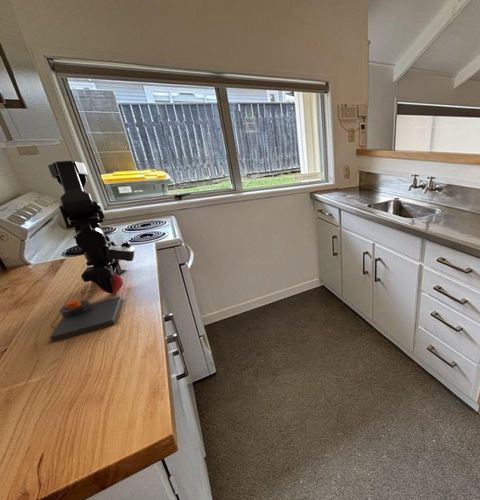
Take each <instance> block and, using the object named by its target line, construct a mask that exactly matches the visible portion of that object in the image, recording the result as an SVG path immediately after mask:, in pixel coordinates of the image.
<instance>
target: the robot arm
mask: <svg viewBox="0 0 480 500" xmlns="http://www.w3.org/2000/svg"><path fill="white" fill-rule="evenodd" d="M47 167H48V170H49V173H50V175H51V177H52V178H53V179H54V180H55V179H56V180H57V182H58V184H59V185H60V186H61V187H62V188H63V191H64V194H63V195H61V196H60V197H59V198H60V203H61V205H59V206H58V207H59V211H60V214H61V215H62V216H61V217H62V218H63V222H64V224H65V227H66V229H73V228H74V232H75V245H77V246H78V247H79V248H80V253H81V254H83V255H84V257H85V259H86V262H85V264H86V266H87V267H86V268H85V270H83V272H82V274H81V275H80V277H81V279H82V281H83V282H84V283H88V282H92V283H93V284H95V285H97V286H98V288H99V287H101V288H102V289H104V290H105V291H106V292H105V293H108V294H111V293H113V292H114V291H113V285H112V279H111V277H112V275H113V274H114V273H115V274H117V275H119V276H120V275H121V274H123V273H125V272H126V269H122V268H121V265H120V261H126V262H133V261H134V258H135V250H136V248H135V247H134V246H133V245H132V244H131V243H130V241H123V242H122V243H121V244H119V245H118V244H117V243H115V242H114V241H111V238H110V237H109V236H108V235H107V234H106V233H104V230H103V228H102V223H104V220H105V219H106V217H105V214H104V211H103V209H102V207H101V204H100V203H98V201H96V200H93V199H92V196H91V193H88V192H86V188H87V185H88V182H89V181H88V178H87V176H89V174H88V172H87V169H86V165H85V163H83V162H79V161H75V160H72V159H71V160H59V161H57V160H56V161H54V162H52V163H51V164H48V165H47Z"/></svg>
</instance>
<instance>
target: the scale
mask: <svg viewBox="0 0 480 500" xmlns="http://www.w3.org/2000/svg"><path fill="white" fill-rule="evenodd" d="M80 302H81V304H82V305H81V306H79V307H77V308H74V309H68V308H67V306H66V305H64V306H62V307H61V308H60V310H59V312H60V314H61V316H62V318H61V319H60V321H59V322H58V323H57V325H56V327H55V329H54V330H53V332H52V333H51V335H50V337H49V338H50V340H51V342H52V343H53V342H55V341H60V340H63V339H67V338H70V337H74V336H78V335H81V334H85V333H88V332H92V331H96V330H99V329H104V328H106V327H109V326H113V325H115V324H116V321H117V318H118V315H119V312H120V308H121V306H122V302H123V299H122V296H116V297H113V298H109V299H105V300H101V301H98V302H97V301H96V302H94V303H90V302H89V301H88V300H86V299H83V300H82V299H81V300H80Z"/></svg>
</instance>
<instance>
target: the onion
mask: <svg viewBox="0 0 480 500" xmlns="http://www.w3.org/2000/svg"><path fill="white" fill-rule="evenodd" d="M111 279H112V285H113V291H114V292H113V293H110V294H112V295H114V294H117V293H118V292H119V291H120V289H122V287H123V285H124V279H123V278H122V277H121V275H120V274H119V275H117V274H115V273H114V274H113V275H112V277H111ZM98 288H99V290H100V291H102V292H104V293H107V292H106V291H105V290H104V289H102V288H101V287H99V286H98Z"/></svg>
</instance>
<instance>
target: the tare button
mask: <svg viewBox="0 0 480 500" xmlns="http://www.w3.org/2000/svg"><path fill="white" fill-rule="evenodd" d="M80 301H81V300H80V299H79V298H73V299H69V300H68V301H66V302H65V306H67V308H68V309H74V308H77V307H79V306H81V305H82V304H81V302H80Z"/></svg>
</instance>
